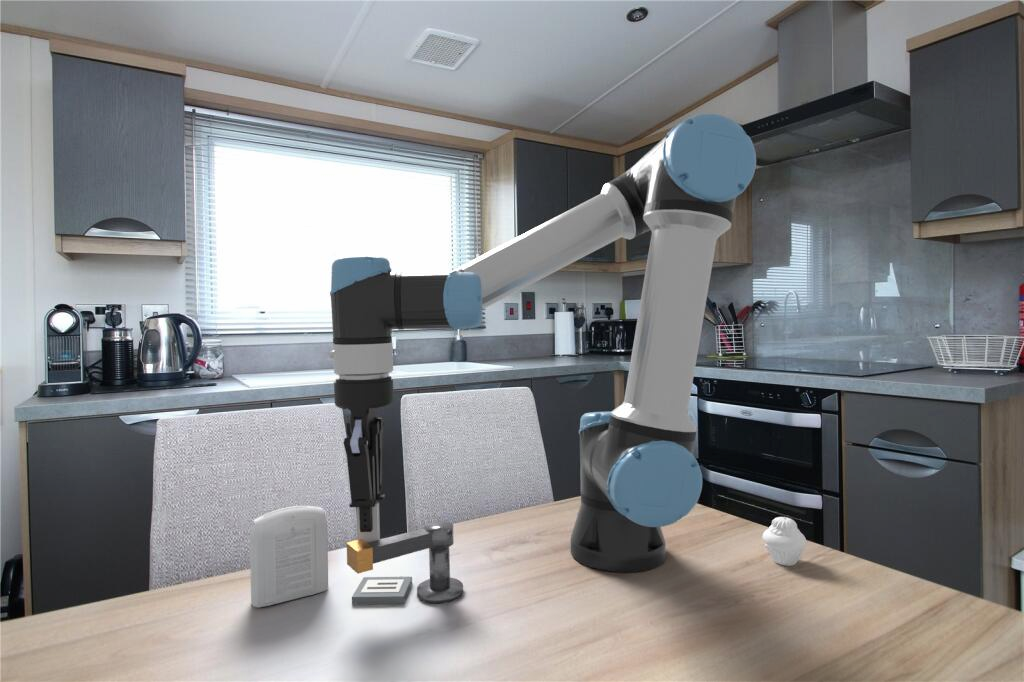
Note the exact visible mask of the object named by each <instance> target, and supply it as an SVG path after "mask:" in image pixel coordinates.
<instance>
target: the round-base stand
mask: <svg viewBox="0 0 1024 682" xmlns="http://www.w3.org/2000/svg"><path fill="white" fill-rule="evenodd" d="M450 554H451V553H450V547H447V548H442V549H431V548H428V557H429V558H428V559H429V564H428V565H429V566H428V567H429V578H428V579H426V580H423V581H421V582H420V583H419V584H418V585H417V587H416V596H417V599H419V601H421V602H423V603H426V604H432V605H442V604H443V605H444V604H448V603H451V602H454V601H456V600H458V599H459V598H461V597H462V596H463V595H464V583H463V582H462V581H461V580H460V579H458V578H455V577H451V568H450V567H451V566H450V564H451V563H450V562H451V561H450Z"/></svg>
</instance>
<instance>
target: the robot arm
mask: <svg viewBox="0 0 1024 682" xmlns="http://www.w3.org/2000/svg"><path fill="white" fill-rule="evenodd" d="M756 168H757V154H756V148H755V146H754V143H753V140H752V139H751V137H750V135H747V133H746V131H745V130H744V129H743V127H742V126H741V125H740V124H739V123H738V122H737V121H735V120H733V119H731V118H730V117H729V116H726V115H723V114H718V113H710V112H709V113H708V112H707V113H698V114H696V115H694V116H691V117H689V118H686V119H685V120H684V121H683V120H682V121H681V122H679V123H677V124H676V125H674V126H673V127H672V128H671V129H670V130H669V131H668V132H667V133H666V136H664V138H662V139H661V140H660V141H659V142H658V143H656V144H655V145H654V146H653V147H652V148H651V149H649V151H647V152H646V153H645V154H644V155H643V156H642V157H641V158H640V159H639V160H638V161H637V162H636V163H635V164H633V166H631V167H630V168H629V169H628V170H626V171H625V172H623V173H622V174H620V175H619V176H617V177H616V178H614V179H612V180H610V181H609V182H607V183H605V184H603V186H602V189H601V191H600V194H598V195H596V196H593V197H592V198H590V199H587V200H586V201H584V202H582V203H580V204H578V205H576V206H575V207H573V208H570V209H569V210H567V211H564V212H563V213H561V214H559V215H557V216H555V217H553V218H551V219H549V220H547V221H545V222H544V223H542V224H540V225H538V226H535V227H534V228H532V229H530V230H528V231H526V232H525V233H522V234H521V235H518V236H517V237H514V238H513V239H511V240H509V241H507V242H505V243H503V244H501V245H498V246H497V247H495V248H493V249H491V250H489V251H488V252H486V253H484V254H482V255H479V256H478V257H476V258H474V259H472V260H470V261H469V262H466V263H464V264H463V265H461V266H459V267H457V268H455V269H453V270H450V271H433V272H432V271H431V272H430V271H429V272H397V271H392V267H391V264H390V261H389V259H388V258H385V257H382V256H376V255H375V256H373V255H371V256H367V255H353V256H352V255H349V256H343V257H342V256H341V257H339V258H336V259H335V260H334V261H333V262H332V265H331V283H330V284H331V285H330V286H331V287H330V291H329V296H330V304H331V305H330V306H331V321H332V325H331V326H332V343H333V344H332V345H333V346H332V349H333V350H331V351H330V352H329V354H328V355H329V357H330V358H331V359H333V373H334V374H335V375H337V376H338V377H337V378H336V379H335V380H334V381H333V390H334V405H335V407H337V408H339V409H342V410H343V409H345V410H346V409H347V410H349V411H350V414H349V415H350V416H349V421H347V422H346V435H347V437H344V439H343V445H344V449H345V454H346V462H347V471H348V473H347V474H348V479H349V480H348V481H349V491H350V499H351V500H350V502H349V504H348V507H349V508H355V510H356V513H355V514H356V540H360V539H362V540H363V541H365V542H366V543H368V542H372V541H376V540H380V539H381V531H380V529H381V528H380V526H381V524H380V502H379V501H385V497H386V494H382V493H381V492H382V489H383V483H382V481H383V477H382V475H383V436H384V426H385V422H384V419H383V417H380V412H379V408H380V409H381V408H385V407H388V406H390V405H392V404H393V403H394V400H395V399H394V396H395V395H394V378H392V376H390V375H389V374H390V373H392V372H393V371H394V358H393V357H394V353H393V351H394V350H393V348H394V347H393V336H392V335H393V334H392V333H393V330H398V331H399V330H401V331H402V330H454V331H455V330H456V331H458V330H463V329H473V328H474V329H475V328H479V326H480V325H481V324H482V321H483V320H482V319H483V318H482V317H483V310H484V309H486V308H489V307H490V306H492V305H494V304H496V303H498V302H500V301H502V300H503V299H506V298H507V297H509V296H512V295H514V294H515V293H516V292H519V291H521V290H522V289H524V288H527V287H529V286H530V285H532V284H534V283H536V282H538V281H540V280H542V279H544V278H546V277H548V276H549V275H552V274H554V273H556V272H558V271H559V270H562V269H563V268H565V267H567V266H569V265H571V264H573V263H575V262H576V261H579V260H580V259H582V258H585V257H586V256H588V255H590V254H592V253H594V252H595V251H598V250H600V249H601V248H604V247H606V246H607V245H609V244H612V243H613V242H615V241H617V240H620V239H621V238H623V239H626V240H632V239H634V238H637V237H638V236H641V235H643V234H645V233H647V232H650V231H651V232H650V233H651V235H650V242H649V249H648V254H647V260H646V266H645V271H644V278H643V284H642V289H641V295H640V296H641V297H640V302H639V309H638V314H637V321H636V325H635V332H634V339H633V344H632V345H633V346H632V350H631V356H630V357H631V358H630V364H629V368H628V375H627V381H626V387H625V394H624V400H623V402H622V403H621V404H620V405H619V406H617V407H616V408H614V409H613V410H612V411H593V412H586V413H584V414H583V415H581V417H580V423H579V430H578V435H579V462H580V463H579V464H580V465H579V466H580V469H579V470H580V471H579V473H580V478H579V479H580V507H579V509H578V513H577V516H576V519H575V522H574V526H573V528H572V532H571V534H570V554H571V556H572V557H573V559H575V560H576V561H577V562H579V563H580V564H583V565H585V566H587V567H590V568H594V569H597V570H602V571H607V572H615V573H632V572H633V573H636V572H643V571H648V570H651V569H653V568H656V567H659V566H660V565H662V564H663V562H664V561H665V560H666V557H667V547H666V545H667V544H666V540H665V536H664V533H663V530H662V528H661V527H666V526H670V525H673V524H675V523H677V522H678V521H679V520H681V519H682V518H683V517H687V515H688V514H689V513H690V512H691V511H692V510H693V509H694V508H695V506H696V505H697V503H698V501H699V499H700V496H701V493H702V491H703V474H702V471H701V467H700V465H699V463H698V460H697V459H696V457H695V455H694V448H695V443H696V439H697V438H696V437H697V432H698V430H697V429H698V428H697V426H696V425H695V423H694V421H692V418H690V416H689V412H688V411H689V406H690V401H691V395H692V388H693V382H694V376H695V372H696V371H695V370H696V364H697V358H698V353H699V346H700V341H701V335H702V328H703V323H704V318H705V317H704V315H705V310H706V305H707V299H708V293H709V288H710V287H709V286H710V281H711V274H712V269H713V262H714V256H715V251H716V243H717V240H718V239H719V237H721V236H722V235H723V234H725V233H726V232H728V231H729V230H730V229H731V228H732V222H733V217H734V211H735V204H736V199H737V197H738V196H740V195H741V194H743V192H744V191H745V190H746V189H747V187H748V186H749V185H750V183H751V182H752V180H753V178H754V175H755V171H756ZM380 493H381V494H380Z"/></svg>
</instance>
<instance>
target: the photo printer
mask: <svg viewBox="0 0 1024 682" xmlns="http://www.w3.org/2000/svg"><path fill="white" fill-rule="evenodd" d="M328 534H329V533H328V519H327V516H326V511H325V509H323V507H321V506H314V505H294V506H287V507H282V508H277V509H275V510H272V511H269V512H267V513H264V514H262V515H260V516H257V517H256V518H254V519H253V520H252V522H251V529H250V533H249V549H250V551H249V552H250V553H249V562H250V564H249V565H250V566H249V568H250V603H251V604H250V605H252V607H254V608H263V607H269V606H272V605H276V604H280V603H281V604H282V603H284V602H288V601H292V600H296V599H300V598H304V597H307V596H312V595H315V594H319V593H322V592H326V591H327V590H328V588H329V553H328V552H329V548H328V545H329V544H328V542H329V539H328Z"/></svg>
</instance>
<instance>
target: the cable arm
mask: <svg viewBox="0 0 1024 682" xmlns="http://www.w3.org/2000/svg"><path fill="white" fill-rule="evenodd" d="M454 538H455V537H454V524H453V523H452V522H449V521H445V520H439V521H437V520H436V521H432V522H429V523H426V524H425V525H424V527H423V528H420V529H416V530H412V531H408V532H405V533H401V534H396V535H392V536H389V537H384V538H380V540H376V541H372V542H368V543H366V542H365V541H363V540H362V539H360V540H357V539H356V540H352V541H349V542H346V565H347V566H349V568H351V569H352V570H353V571H354V572H355V573H356V574H357V575H358V574H362V573H365V572H369V571H372V570H374V564H377V563H381V562H385V561H388V560H391V559H395V558H398V557H402V556H406V555H409V554H413V553H417V552H420V551H424V550H429V548H431V549H442V548H447V547H449V548H450V547H452V546H453V545H454V543H455V542H454V541H455V540H454Z"/></svg>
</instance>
